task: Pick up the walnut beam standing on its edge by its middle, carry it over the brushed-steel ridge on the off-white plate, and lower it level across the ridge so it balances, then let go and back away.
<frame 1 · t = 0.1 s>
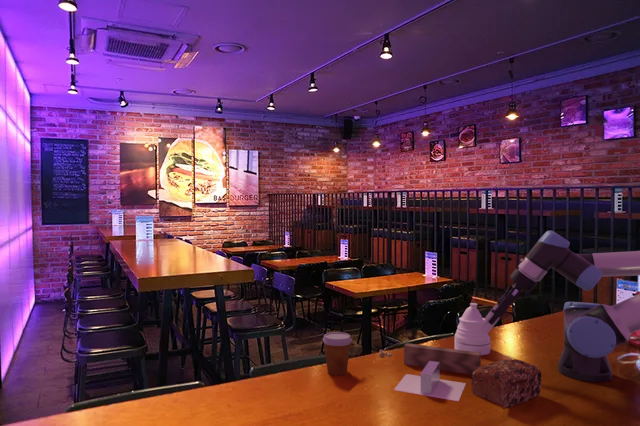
hand: (485, 325, 145), 15 cm above the table, tool tilted 35°, fingers open, 13 cm apart
dice set: (384, 357, 163), on the table
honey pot: (472, 350, 170), on the table
base plate: (430, 391, 130), on the table
walnut beam: (441, 373, 146), on the table
bread: (506, 398, 127), on the table
disposable coffee cup: (337, 372, 147), on the table
steel ridge: (430, 386, 130), resting on base plate
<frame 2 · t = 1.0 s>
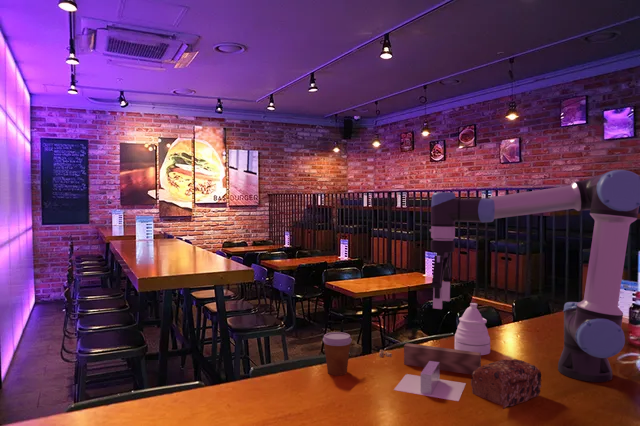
hand: (441, 304, 146), 22 cm above the table, tool pointing down, fingers open, 13 cm apart
nothing on the table moved.
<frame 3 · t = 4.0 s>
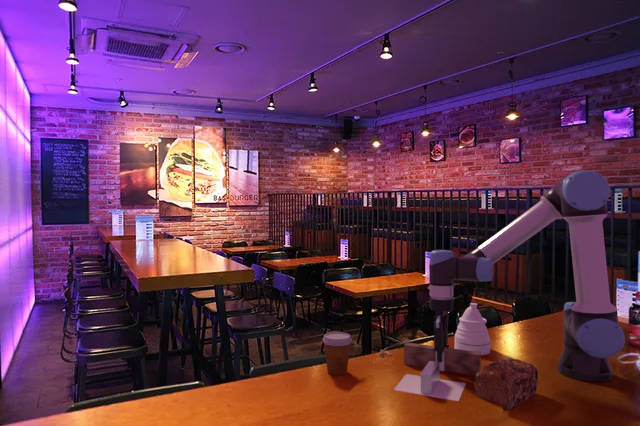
hand: (441, 369, 146), 1 cm above the table, tool pointing down, fingers closed on walnut beam, 3 cm apart
walnut beam: (441, 372, 146), on the table, touching gripper
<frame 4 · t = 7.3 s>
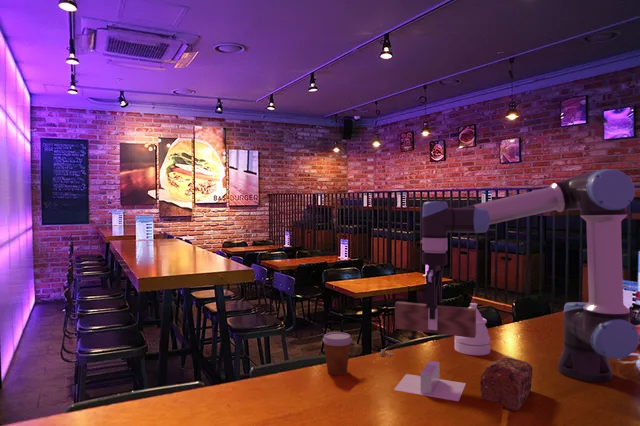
hand: (434, 328, 137), 17 cm above the table, tool pointing down, fingers closed on walnut beam, 3 cm apart
walnut beam: (434, 331, 137), point 16 cm above the table, touching gripper
when the fingers open (9 cm above the table, at t = 10.8 s): walnut beam stays where it is, resting on steel ridge.
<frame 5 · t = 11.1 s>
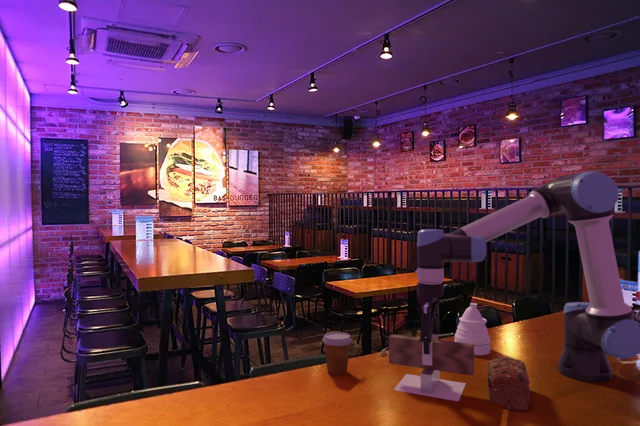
hand: (430, 360, 130), 9 cm above the table, tool pointing down, fingers open, 8 cm apart
walnut beam: (430, 367, 130), point 7 cm above the table, touching steel ridge
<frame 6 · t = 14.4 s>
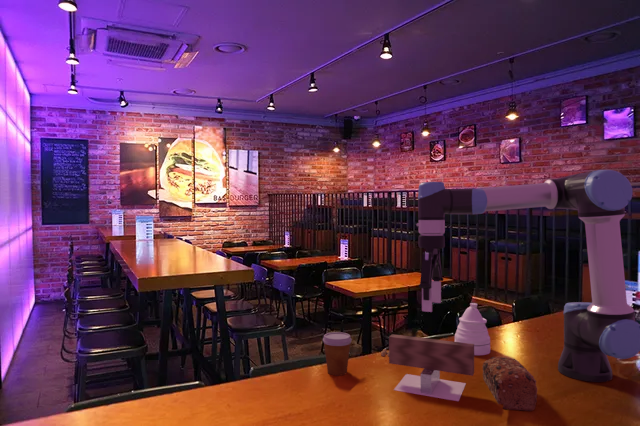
hand: (431, 306, 131), 25 cm above the table, tool pointing down, fingers open, 13 cm apart
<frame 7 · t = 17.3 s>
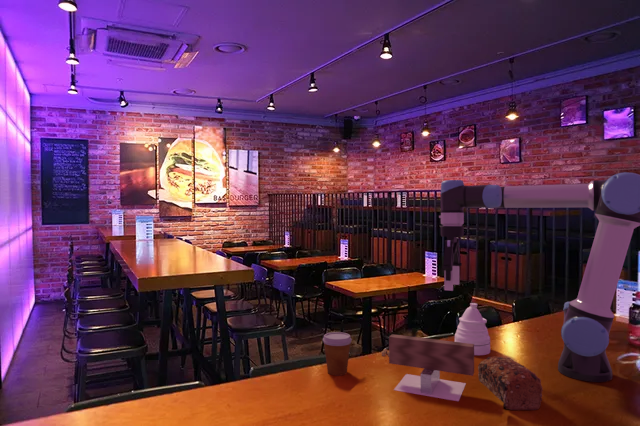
hand: (452, 287, 153), 27 cm above the table, tool pointing down, fingers open, 13 cm apart
at the end: walnut beam 0.0 cm off-centre on the steel ridge, point 5.5 cm above the steel ridge's base; walnut beam tilted 0°; the gripper is holding nothing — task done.
